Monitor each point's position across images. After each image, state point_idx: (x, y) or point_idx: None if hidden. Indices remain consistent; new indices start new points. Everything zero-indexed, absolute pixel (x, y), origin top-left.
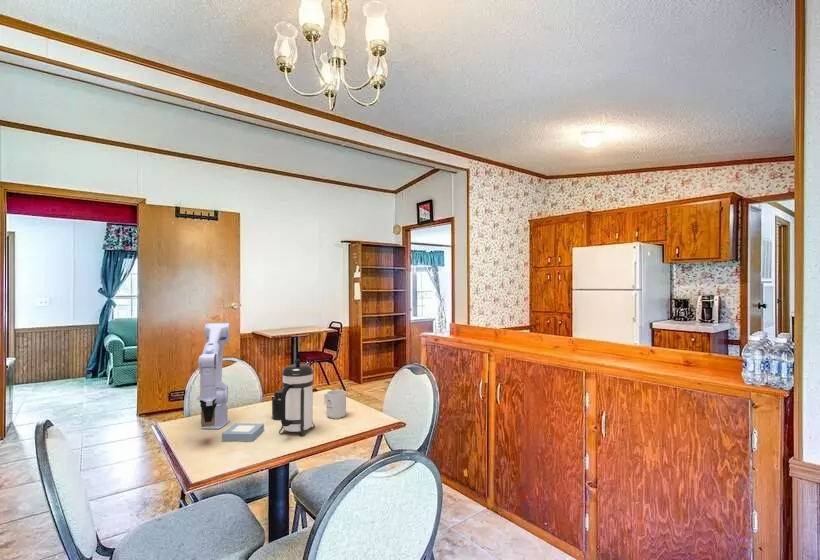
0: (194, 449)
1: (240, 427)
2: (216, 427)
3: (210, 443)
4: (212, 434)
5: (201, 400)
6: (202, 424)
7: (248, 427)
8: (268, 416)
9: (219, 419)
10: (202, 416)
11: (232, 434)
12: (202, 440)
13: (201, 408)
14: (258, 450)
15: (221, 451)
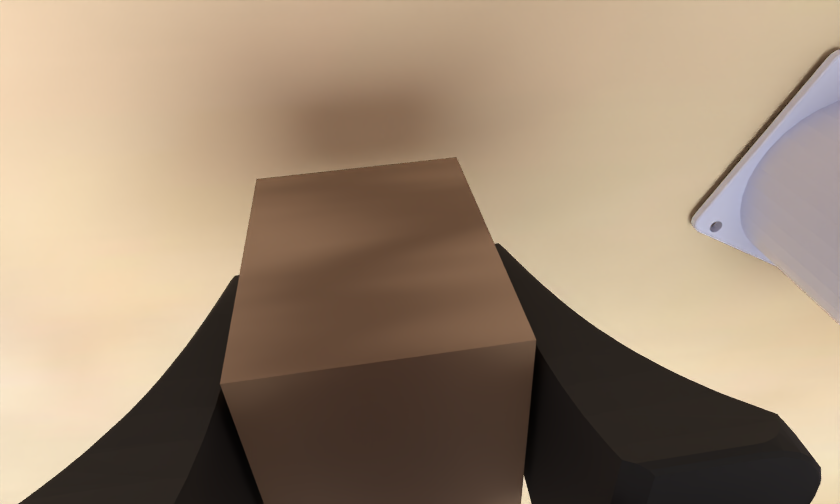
0: (149, 4)
1: None
2: (730, 199)
3: (305, 164)
4: (579, 166)
5: (727, 494)
6: (257, 212)
7: None
8: None
9: (787, 264)
10: (241, 304)
11: None
12: (439, 79)
13: (502, 348)
14: (28, 483)
15: (36, 269)
